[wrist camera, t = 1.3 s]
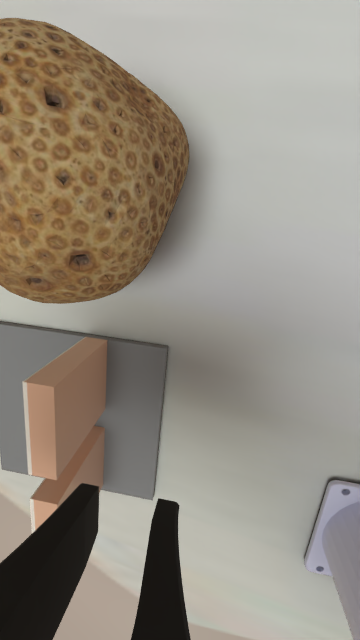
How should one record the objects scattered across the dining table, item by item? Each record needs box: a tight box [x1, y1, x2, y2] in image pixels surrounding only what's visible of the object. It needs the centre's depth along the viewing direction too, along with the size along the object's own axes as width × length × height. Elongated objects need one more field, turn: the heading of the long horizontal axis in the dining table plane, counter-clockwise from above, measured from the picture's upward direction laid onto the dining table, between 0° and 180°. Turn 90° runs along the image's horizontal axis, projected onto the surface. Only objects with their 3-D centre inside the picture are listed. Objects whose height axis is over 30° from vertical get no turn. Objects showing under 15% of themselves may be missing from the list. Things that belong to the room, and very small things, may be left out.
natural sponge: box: [0, 18, 189, 304], centre depth 11 cm, size 9×9×10 cm
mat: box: [0, 321, 168, 500], centre depth 20 cm, size 12×12×1 cm
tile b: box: [30, 426, 105, 533], centre depth 18 cm, size 2×5×6 cm, turn 174°
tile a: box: [22, 337, 107, 480], centre depth 16 cm, size 2×5×6 cm, turn 174°
